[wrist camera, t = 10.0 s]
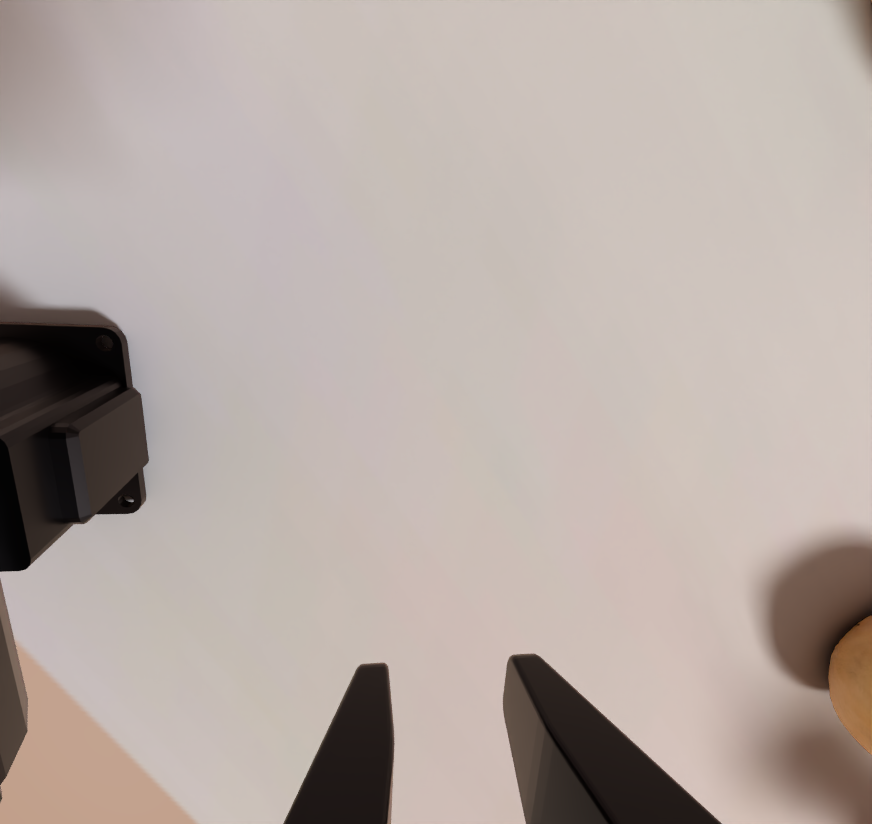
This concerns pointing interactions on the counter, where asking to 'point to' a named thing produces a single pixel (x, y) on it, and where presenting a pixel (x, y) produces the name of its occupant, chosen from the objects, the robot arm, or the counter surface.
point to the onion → (854, 682)
